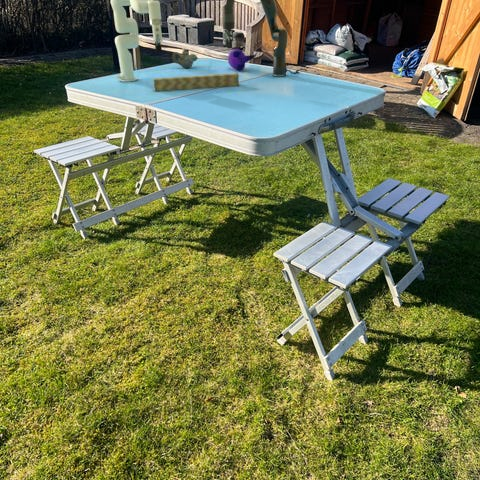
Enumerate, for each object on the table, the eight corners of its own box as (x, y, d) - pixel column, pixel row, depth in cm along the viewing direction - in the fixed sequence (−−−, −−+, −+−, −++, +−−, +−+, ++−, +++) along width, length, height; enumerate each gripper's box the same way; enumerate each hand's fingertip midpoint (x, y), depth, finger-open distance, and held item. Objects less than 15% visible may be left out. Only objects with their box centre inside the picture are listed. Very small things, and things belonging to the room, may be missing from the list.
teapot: (196, 65, 393) (195, 47, 386) (199, 67, 384) (198, 49, 376) (172, 67, 388) (170, 48, 380) (175, 69, 378) (173, 50, 370)
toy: (240, 72, 359) (228, 71, 382) (259, 65, 362) (246, 64, 386) (234, 52, 351) (222, 52, 375) (253, 45, 354) (241, 45, 378)
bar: (155, 91, 308) (153, 80, 304) (154, 90, 311) (153, 78, 308) (238, 85, 320) (238, 74, 316) (237, 84, 324) (236, 73, 320)
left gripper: (163, 23, 282) (165, 52, 291) (160, 21, 297) (162, 48, 306) (151, 23, 281) (154, 52, 290) (148, 21, 295) (151, 49, 304)
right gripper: (236, 21, 294) (237, 48, 302) (231, 20, 306) (232, 45, 314) (225, 22, 293) (226, 49, 301) (220, 20, 305) (221, 46, 313)
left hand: (158, 50), depth 298 cm, fingers open, 9 cm apart
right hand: (229, 47), depth 308 cm, fingers open, 8 cm apart
